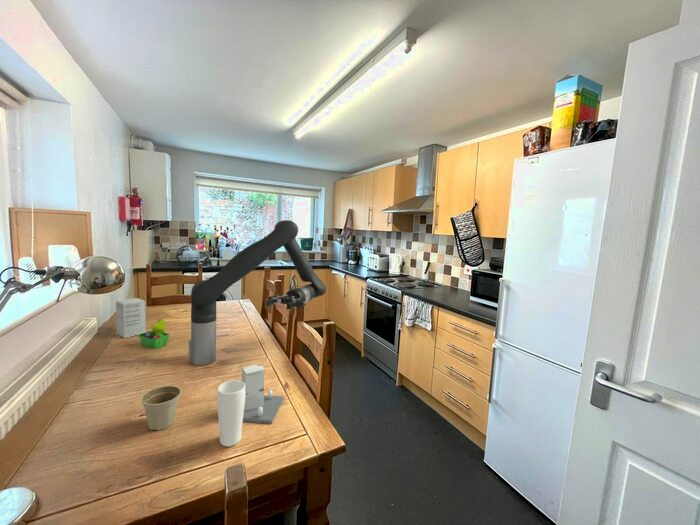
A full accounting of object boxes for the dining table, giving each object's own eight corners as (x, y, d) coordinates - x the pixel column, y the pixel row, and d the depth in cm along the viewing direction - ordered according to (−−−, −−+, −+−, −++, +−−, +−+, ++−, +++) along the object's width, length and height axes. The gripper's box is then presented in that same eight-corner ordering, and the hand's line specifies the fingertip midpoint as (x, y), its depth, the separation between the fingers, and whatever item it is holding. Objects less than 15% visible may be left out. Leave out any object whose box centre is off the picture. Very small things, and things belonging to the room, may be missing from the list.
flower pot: (189, 417, 83) (189, 389, 82) (158, 439, 74) (158, 408, 73) (165, 409, 86) (165, 382, 85) (132, 429, 77) (132, 399, 76)
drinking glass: (222, 431, 78) (222, 379, 77) (247, 431, 79) (248, 380, 77) (212, 450, 72) (213, 393, 70) (240, 449, 72) (241, 394, 71)
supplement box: (146, 333, 143) (146, 300, 141) (124, 338, 135) (123, 304, 133) (138, 329, 148) (137, 297, 146) (116, 333, 140) (115, 300, 138)
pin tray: (217, 418, 83) (218, 407, 83) (236, 395, 95) (236, 385, 95) (271, 423, 82) (272, 412, 82) (283, 399, 94) (283, 389, 94)
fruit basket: (137, 345, 128) (136, 321, 127) (156, 339, 137) (156, 316, 135) (154, 351, 124) (153, 325, 123) (173, 344, 132) (173, 320, 131)
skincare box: (244, 412, 85) (244, 373, 84) (240, 404, 89) (241, 367, 88) (264, 406, 89) (265, 369, 88) (259, 398, 92) (260, 363, 91)
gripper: (283, 286, 123) (261, 292, 108) (313, 290, 119) (294, 297, 103) (283, 303, 124) (260, 312, 108) (312, 307, 119) (293, 317, 104)
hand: (277, 305), depth 106 cm, fingers open, 8 cm apart
